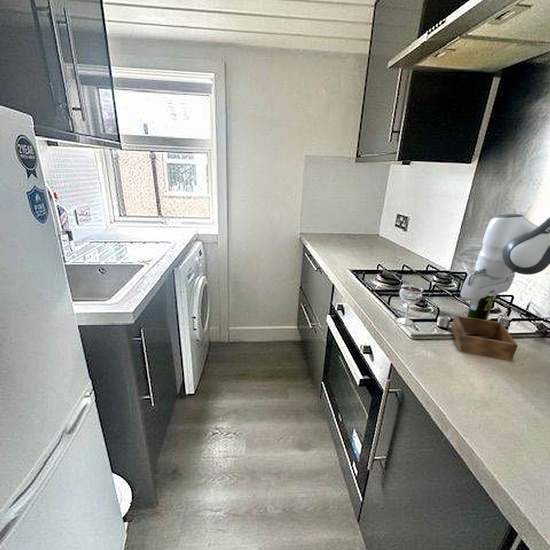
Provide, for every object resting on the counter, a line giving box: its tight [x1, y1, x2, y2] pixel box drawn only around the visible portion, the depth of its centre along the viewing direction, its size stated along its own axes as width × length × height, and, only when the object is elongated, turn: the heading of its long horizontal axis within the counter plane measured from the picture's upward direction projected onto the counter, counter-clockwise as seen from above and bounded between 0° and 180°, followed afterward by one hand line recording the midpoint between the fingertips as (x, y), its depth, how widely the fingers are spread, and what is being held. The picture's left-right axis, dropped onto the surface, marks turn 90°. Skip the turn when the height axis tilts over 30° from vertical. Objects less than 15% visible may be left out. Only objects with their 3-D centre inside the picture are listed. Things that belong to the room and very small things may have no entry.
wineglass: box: [396, 283, 424, 326], centre depth 97 cm, size 7×7×12 cm
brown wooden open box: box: [450, 314, 518, 362], centre depth 88 cm, size 13×13×5 cm
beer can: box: [466, 291, 495, 320], centre depth 97 cm, size 5×5×12 cm
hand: (480, 307), depth 97 cm, fingers closed on beer can, 5 cm apart
